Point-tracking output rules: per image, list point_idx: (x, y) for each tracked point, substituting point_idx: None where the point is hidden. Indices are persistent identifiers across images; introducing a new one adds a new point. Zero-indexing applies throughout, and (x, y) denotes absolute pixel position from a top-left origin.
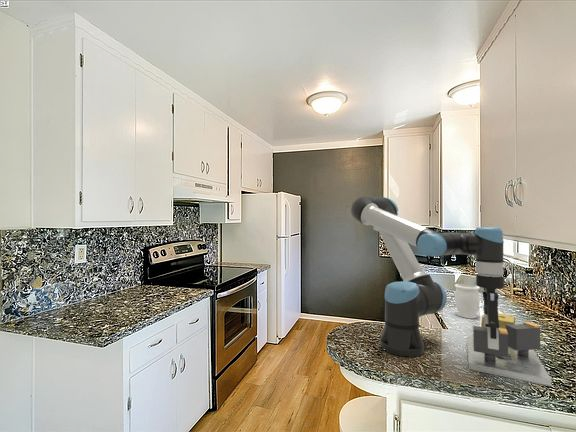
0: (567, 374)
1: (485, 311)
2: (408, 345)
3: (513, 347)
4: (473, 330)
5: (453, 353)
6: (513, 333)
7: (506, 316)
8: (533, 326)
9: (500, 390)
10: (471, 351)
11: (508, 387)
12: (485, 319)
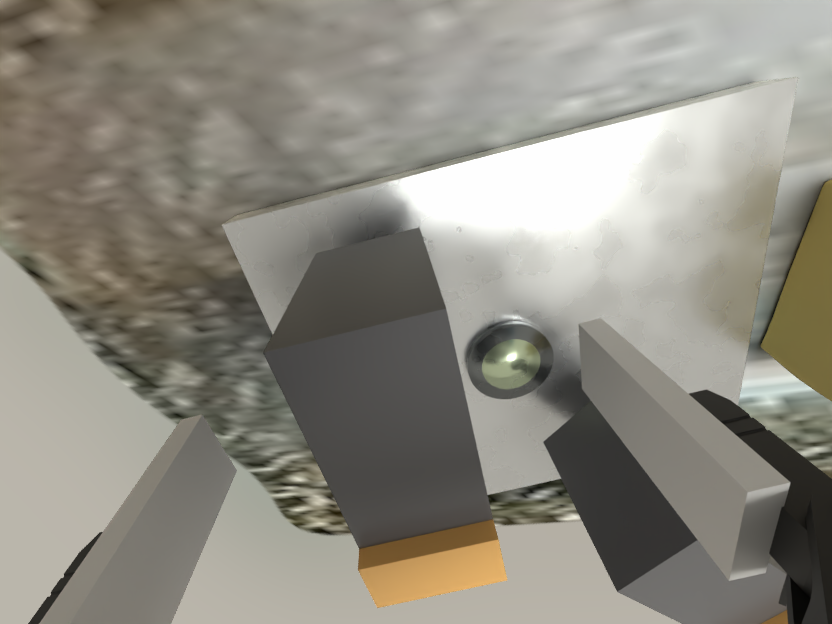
0: (534, 516)
1: (819, 579)
2: None
3: (565, 435)
4: (367, 306)
5: (444, 44)
6: (613, 524)
7: None
8: None
9: (130, 382)
10: (465, 189)
11: (199, 399)
12: (688, 445)
